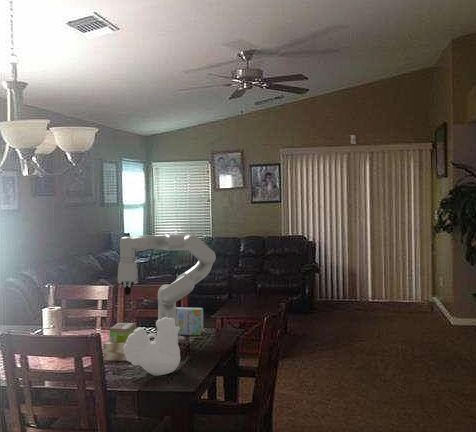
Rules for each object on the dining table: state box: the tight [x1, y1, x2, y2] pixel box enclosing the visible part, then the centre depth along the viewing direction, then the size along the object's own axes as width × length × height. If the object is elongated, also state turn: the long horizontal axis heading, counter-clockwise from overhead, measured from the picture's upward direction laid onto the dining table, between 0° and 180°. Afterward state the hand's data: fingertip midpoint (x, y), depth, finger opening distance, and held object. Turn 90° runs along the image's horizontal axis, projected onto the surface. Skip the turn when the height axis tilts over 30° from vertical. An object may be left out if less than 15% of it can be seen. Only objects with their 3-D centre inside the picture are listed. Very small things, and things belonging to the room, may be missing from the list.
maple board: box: [102, 341, 127, 361], centre depth 280 cm, size 12×3×8 cm, turn 87°
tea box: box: [109, 322, 137, 342], centre depth 289 cm, size 15×10×15 cm, turn 176°
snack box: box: [176, 306, 204, 336], centre depth 334 cm, size 21×6×15 cm, turn 77°
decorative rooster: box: [123, 317, 181, 377], centre depth 256 cm, size 25×16×25 cm, turn 99°
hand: (127, 294), depth 307 cm, fingers closed
